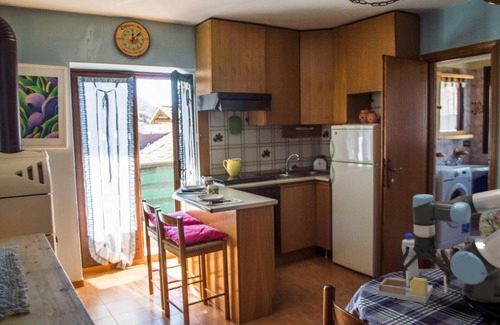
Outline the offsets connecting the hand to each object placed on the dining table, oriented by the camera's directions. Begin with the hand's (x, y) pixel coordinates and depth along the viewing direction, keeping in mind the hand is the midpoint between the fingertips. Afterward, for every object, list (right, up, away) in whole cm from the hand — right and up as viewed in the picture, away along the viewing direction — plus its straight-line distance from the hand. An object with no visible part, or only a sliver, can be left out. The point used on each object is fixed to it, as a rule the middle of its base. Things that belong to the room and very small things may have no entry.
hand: (426, 288), depth 154 cm
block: (-2, -2, +2) cm, 3 cm away
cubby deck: (-5, -4, +7) cm, 10 cm away
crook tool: (-6, -2, +13) cm, 14 cm away
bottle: (+4, -3, +24) cm, 24 cm away
